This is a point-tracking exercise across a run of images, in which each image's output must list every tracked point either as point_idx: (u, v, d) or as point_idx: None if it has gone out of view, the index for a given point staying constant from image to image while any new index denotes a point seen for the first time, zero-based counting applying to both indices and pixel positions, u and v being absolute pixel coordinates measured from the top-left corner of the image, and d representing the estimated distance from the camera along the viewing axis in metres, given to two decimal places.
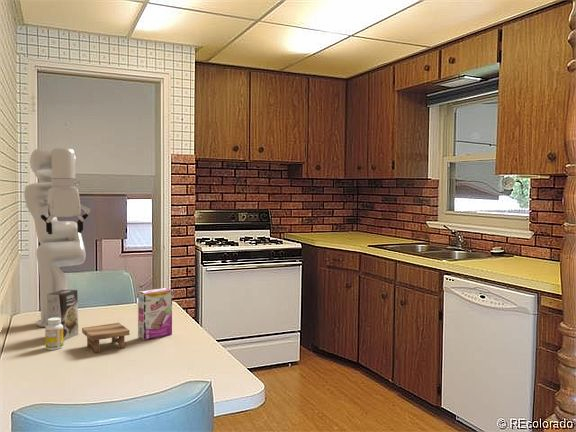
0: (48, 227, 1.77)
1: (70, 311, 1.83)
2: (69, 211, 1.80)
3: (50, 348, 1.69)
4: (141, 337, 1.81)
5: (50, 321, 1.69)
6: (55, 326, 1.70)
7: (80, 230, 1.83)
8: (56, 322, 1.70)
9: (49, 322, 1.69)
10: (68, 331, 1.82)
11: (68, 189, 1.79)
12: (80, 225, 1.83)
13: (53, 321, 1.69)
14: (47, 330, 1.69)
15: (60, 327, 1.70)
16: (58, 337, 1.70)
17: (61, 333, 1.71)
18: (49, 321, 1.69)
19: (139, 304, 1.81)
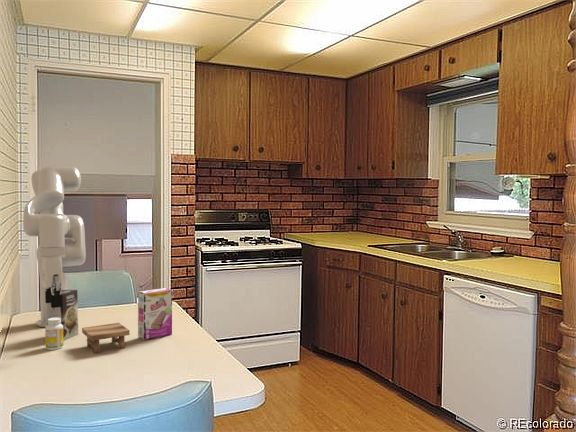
0: (59, 299, 1.66)
1: (70, 311, 1.83)
2: None
3: (50, 348, 1.69)
4: (141, 337, 1.81)
5: (50, 321, 1.69)
6: (55, 326, 1.70)
7: None
8: (56, 322, 1.70)
9: (49, 322, 1.69)
10: (68, 331, 1.82)
11: None
12: None
13: (53, 321, 1.69)
14: (47, 330, 1.69)
15: (60, 327, 1.70)
16: (58, 337, 1.70)
17: (61, 333, 1.71)
18: (49, 321, 1.69)
19: (139, 304, 1.81)
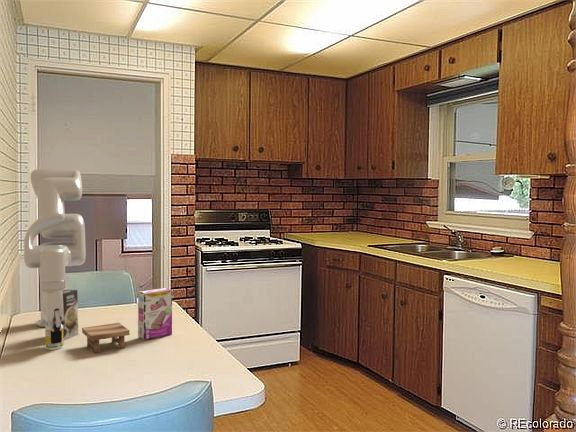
0: (59, 335, 1.69)
1: (70, 311, 1.83)
2: None
3: (50, 348, 1.69)
4: (141, 337, 1.81)
5: None
6: None
7: None
8: None
9: (49, 322, 1.69)
10: (68, 331, 1.82)
11: None
12: None
13: None
14: (47, 330, 1.69)
15: None
16: None
17: None
18: None
19: (139, 304, 1.81)
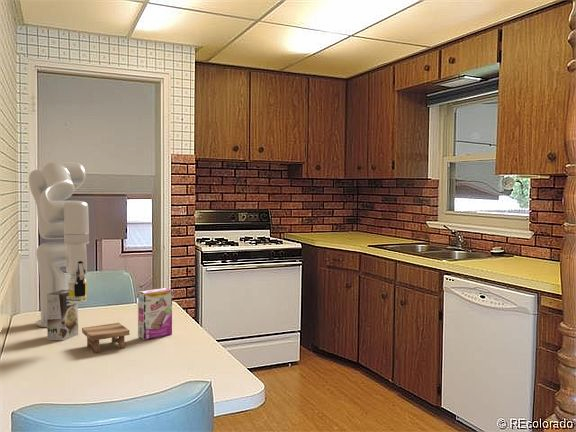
0: (83, 288, 1.68)
1: (70, 311, 1.83)
2: None
3: (73, 301, 1.68)
4: (141, 337, 1.81)
5: (73, 274, 1.69)
6: None
7: None
8: None
9: None
10: (68, 331, 1.82)
11: None
12: None
13: None
14: (70, 283, 1.68)
15: None
16: None
17: None
18: None
19: (139, 304, 1.81)
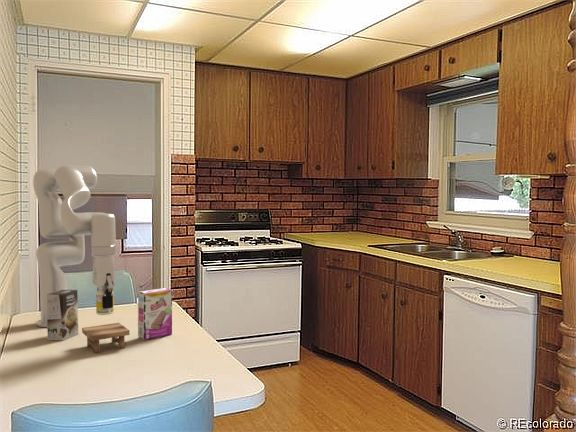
0: (110, 300, 1.69)
1: (70, 311, 1.83)
2: None
3: (101, 313, 1.69)
4: (141, 337, 1.81)
5: None
6: None
7: None
8: None
9: None
10: (68, 331, 1.82)
11: None
12: None
13: None
14: (98, 295, 1.69)
15: None
16: None
17: None
18: None
19: (139, 304, 1.81)
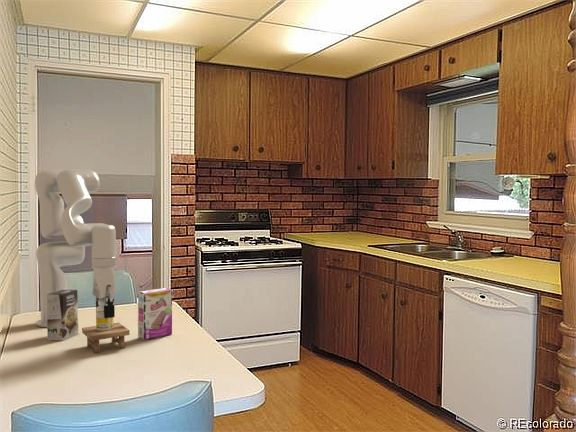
0: (112, 310, 1.67)
1: (70, 311, 1.83)
2: None
3: (101, 329, 1.69)
4: (141, 337, 1.81)
5: (101, 302, 1.70)
6: None
7: None
8: None
9: (100, 303, 1.70)
10: (68, 331, 1.82)
11: None
12: None
13: None
14: (98, 311, 1.69)
15: None
16: (109, 318, 1.70)
17: None
18: (100, 302, 1.70)
19: (139, 304, 1.81)
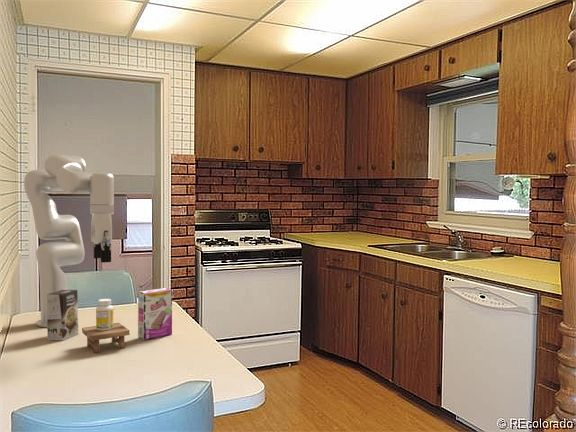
0: (109, 255, 1.73)
1: (70, 311, 1.83)
2: None
3: (101, 329, 1.69)
4: (141, 337, 1.81)
5: (101, 302, 1.70)
6: (106, 307, 1.70)
7: None
8: (107, 303, 1.70)
9: (100, 303, 1.70)
10: (68, 331, 1.82)
11: None
12: None
13: (104, 302, 1.70)
14: (98, 311, 1.69)
15: (111, 308, 1.71)
16: (109, 318, 1.70)
17: (112, 314, 1.71)
18: (100, 302, 1.70)
19: (139, 304, 1.81)
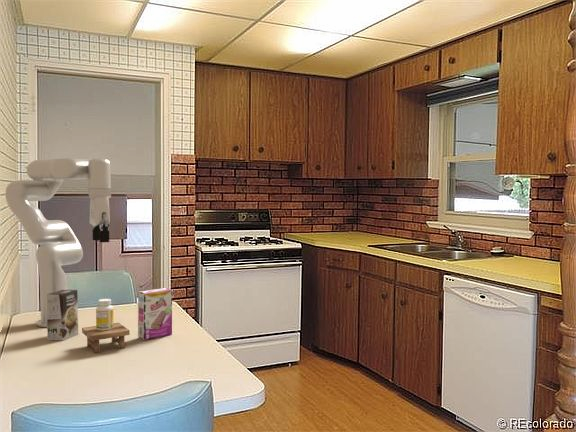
0: None
1: (70, 311, 1.83)
2: None
3: (101, 329, 1.69)
4: (141, 337, 1.81)
5: (101, 302, 1.70)
6: (106, 307, 1.70)
7: None
8: (107, 303, 1.70)
9: (100, 303, 1.70)
10: (68, 331, 1.82)
11: None
12: None
13: (104, 302, 1.70)
14: (98, 311, 1.69)
15: (111, 308, 1.71)
16: (109, 318, 1.70)
17: (112, 314, 1.71)
18: (100, 302, 1.70)
19: (139, 304, 1.81)
